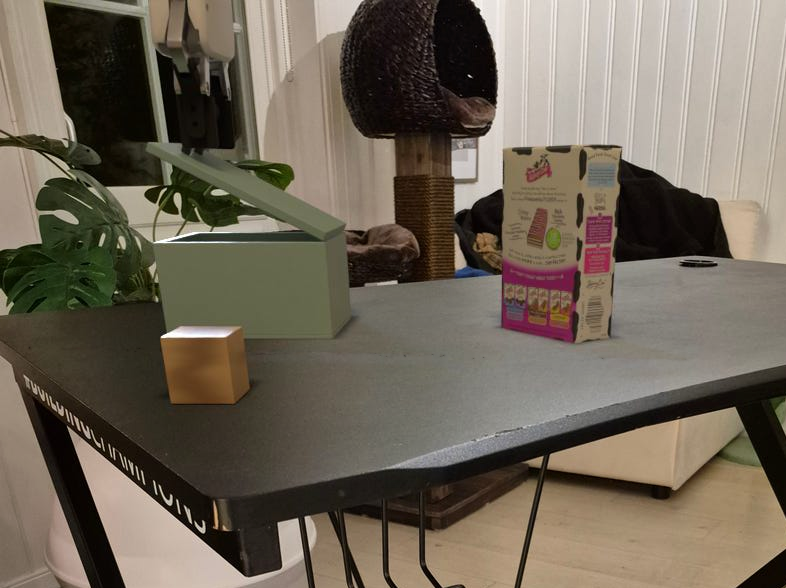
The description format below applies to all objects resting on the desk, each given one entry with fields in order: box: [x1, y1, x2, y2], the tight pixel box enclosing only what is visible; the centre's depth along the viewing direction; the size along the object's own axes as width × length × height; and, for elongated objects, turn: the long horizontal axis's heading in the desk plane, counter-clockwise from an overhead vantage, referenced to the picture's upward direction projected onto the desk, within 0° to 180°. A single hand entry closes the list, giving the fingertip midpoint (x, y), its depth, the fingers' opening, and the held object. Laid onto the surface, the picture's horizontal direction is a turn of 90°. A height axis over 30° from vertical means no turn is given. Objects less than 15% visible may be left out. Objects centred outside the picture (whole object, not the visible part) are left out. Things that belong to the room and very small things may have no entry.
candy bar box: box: [500, 143, 623, 344], centre depth 84 cm, size 11×5×16 cm, turn 37°
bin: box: [152, 231, 352, 339], centre depth 89 cm, size 16×13×9 cm
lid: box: [145, 103, 347, 241], centre depth 84 cm, size 16×13×5 cm
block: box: [159, 326, 251, 405], centre depth 66 cm, size 5×5×5 cm
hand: (209, 146), depth 83 cm, fingers closed on lid, 5 cm apart
